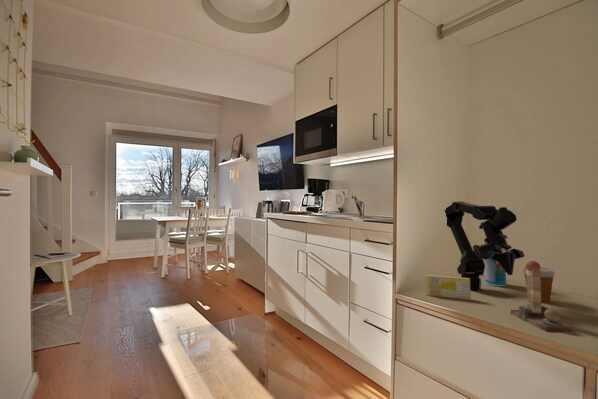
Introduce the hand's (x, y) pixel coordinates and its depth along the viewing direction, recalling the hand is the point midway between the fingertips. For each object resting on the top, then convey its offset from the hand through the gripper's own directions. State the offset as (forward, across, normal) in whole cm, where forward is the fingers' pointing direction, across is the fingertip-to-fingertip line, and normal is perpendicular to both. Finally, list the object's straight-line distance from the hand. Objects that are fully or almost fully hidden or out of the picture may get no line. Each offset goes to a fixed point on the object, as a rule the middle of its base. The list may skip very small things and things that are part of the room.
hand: (510, 274), depth 103 cm
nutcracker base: (+16, +2, +4) cm, 17 cm away
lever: (+14, +1, +3) cm, 14 cm away
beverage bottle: (-4, -27, -21) cm, 35 cm away
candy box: (+4, +7, -23) cm, 24 cm away
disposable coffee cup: (+6, -21, -4) cm, 22 cm away
